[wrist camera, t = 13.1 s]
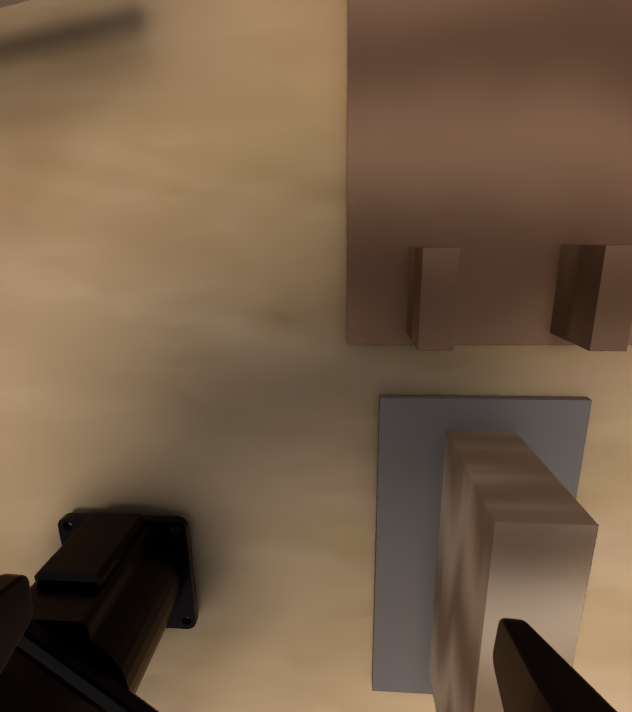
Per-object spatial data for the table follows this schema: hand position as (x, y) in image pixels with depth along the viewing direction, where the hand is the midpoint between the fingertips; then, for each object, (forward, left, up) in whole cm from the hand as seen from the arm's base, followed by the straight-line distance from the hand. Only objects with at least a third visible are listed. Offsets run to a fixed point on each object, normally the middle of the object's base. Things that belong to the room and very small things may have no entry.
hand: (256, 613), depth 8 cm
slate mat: (-8, -8, -12) cm, 17 cm away
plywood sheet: (-8, -8, -12) cm, 16 cm away
